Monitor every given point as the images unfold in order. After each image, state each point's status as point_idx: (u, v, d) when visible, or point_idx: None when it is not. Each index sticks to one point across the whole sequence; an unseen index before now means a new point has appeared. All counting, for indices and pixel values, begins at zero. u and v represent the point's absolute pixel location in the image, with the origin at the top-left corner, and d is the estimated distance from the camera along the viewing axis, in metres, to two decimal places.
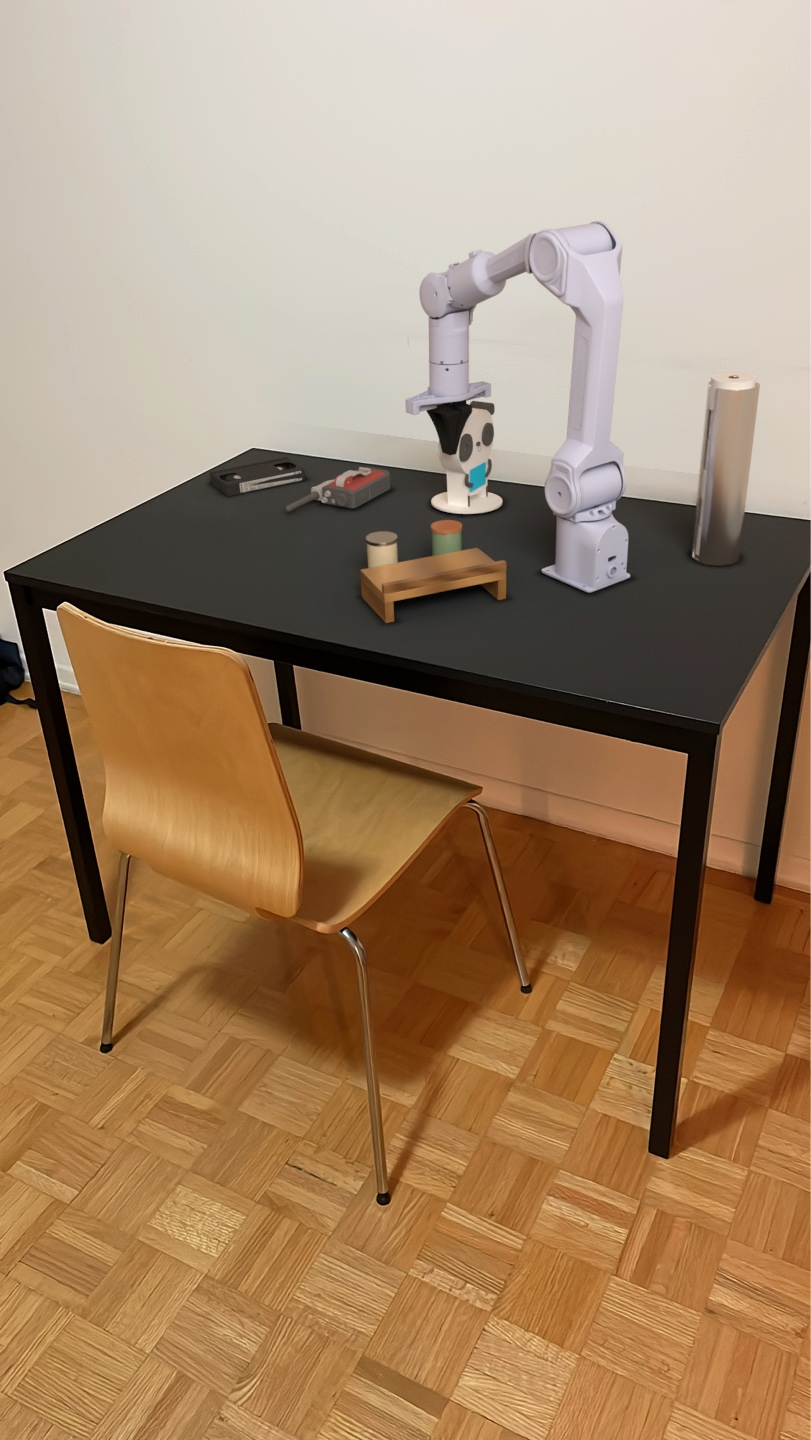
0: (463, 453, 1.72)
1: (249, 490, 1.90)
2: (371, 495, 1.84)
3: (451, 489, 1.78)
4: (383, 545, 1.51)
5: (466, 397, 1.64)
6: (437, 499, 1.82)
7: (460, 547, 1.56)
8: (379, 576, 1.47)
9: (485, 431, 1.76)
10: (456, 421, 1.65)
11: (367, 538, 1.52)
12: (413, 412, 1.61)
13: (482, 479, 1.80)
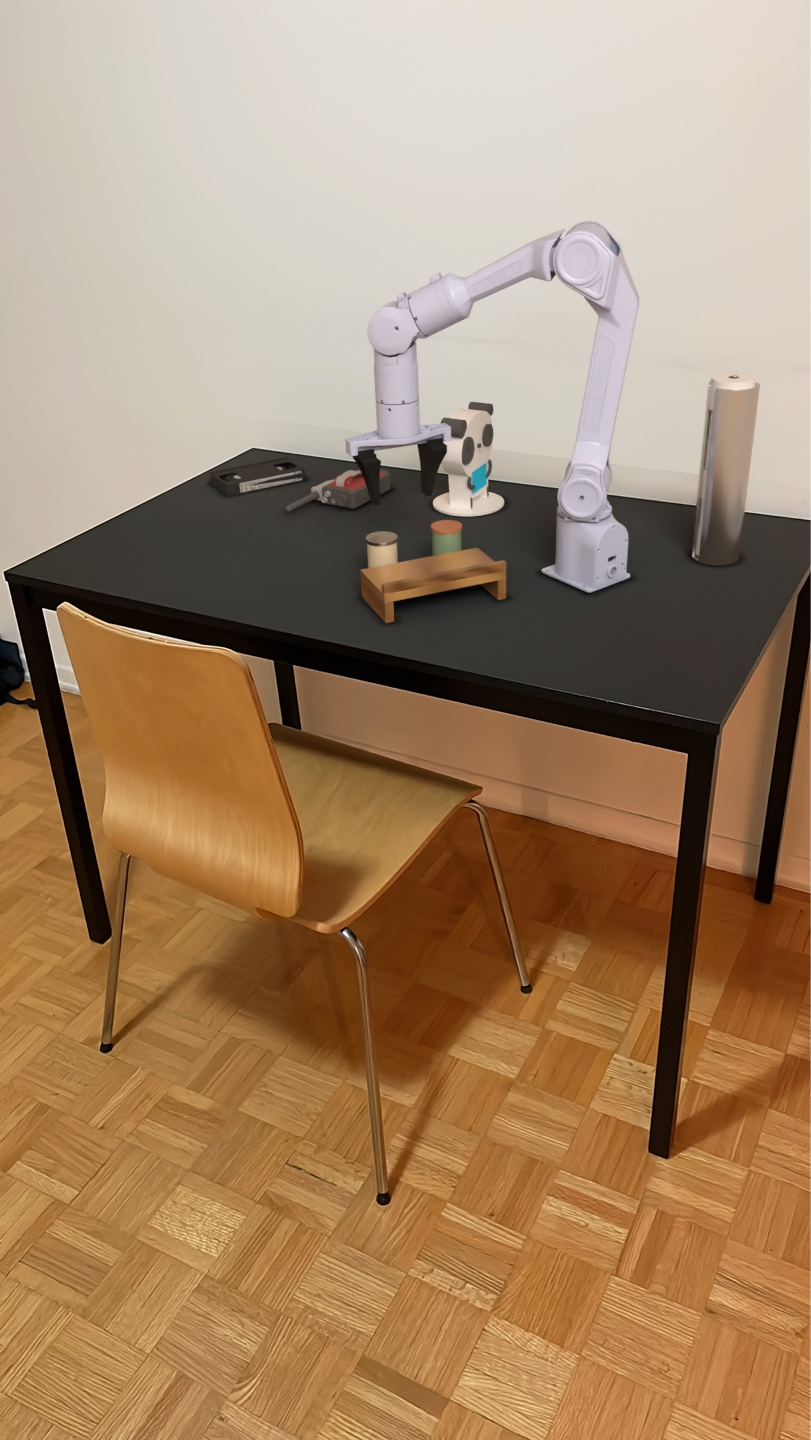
0: (466, 456, 1.72)
1: (249, 490, 1.90)
2: None
3: (453, 492, 1.78)
4: (383, 545, 1.51)
5: (413, 440, 1.50)
6: (438, 501, 1.81)
7: (460, 547, 1.56)
8: (379, 576, 1.47)
9: (485, 432, 1.76)
10: (378, 469, 1.50)
11: (367, 538, 1.52)
12: (350, 453, 1.49)
13: (483, 480, 1.79)
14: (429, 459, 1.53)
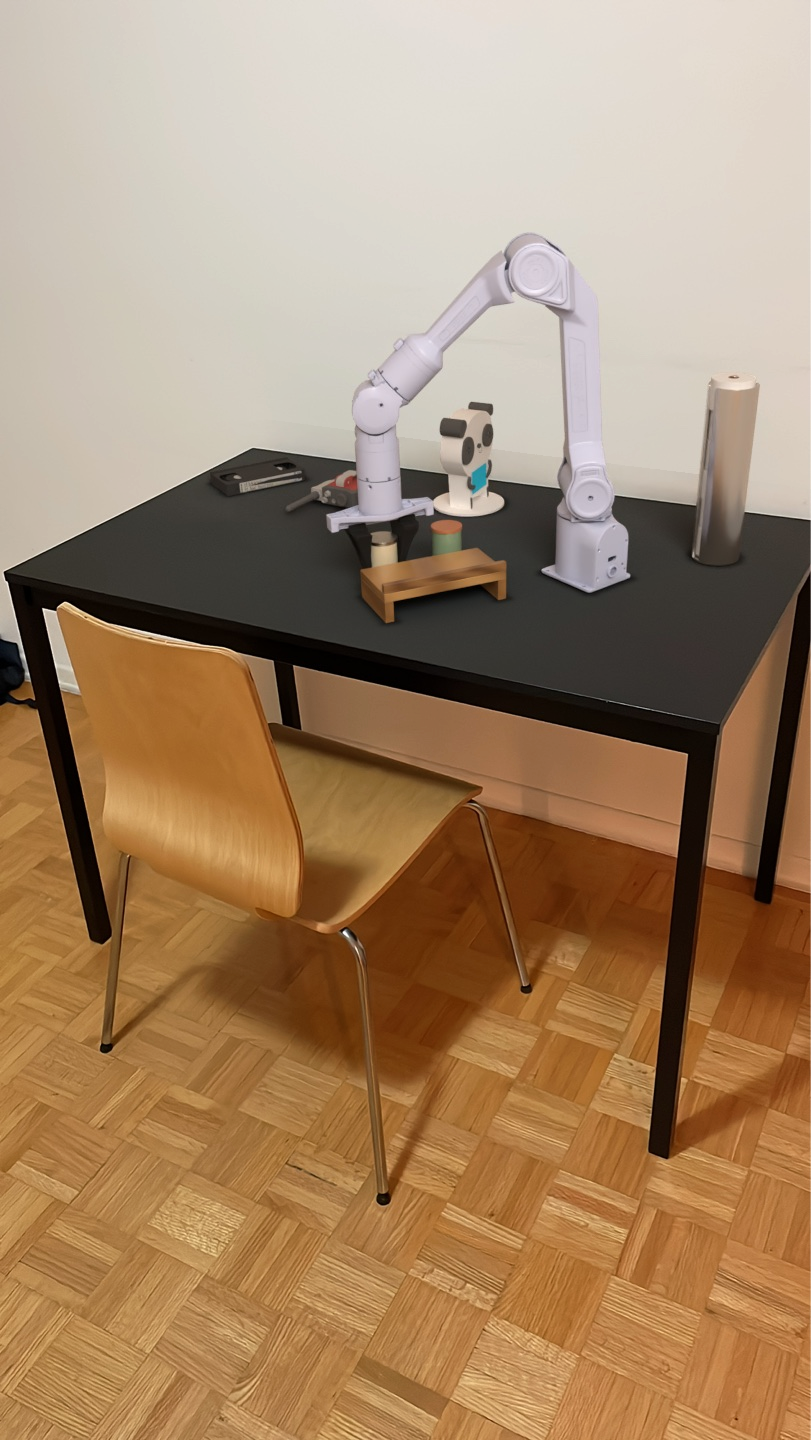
0: (465, 456, 1.72)
1: (249, 490, 1.90)
2: None
3: (453, 492, 1.78)
4: (383, 546, 1.51)
5: (394, 517, 1.48)
6: (438, 501, 1.81)
7: (460, 547, 1.56)
8: (379, 576, 1.47)
9: (485, 432, 1.76)
10: (369, 544, 1.50)
11: None
12: (331, 530, 1.48)
13: (483, 480, 1.79)
14: (401, 536, 1.52)
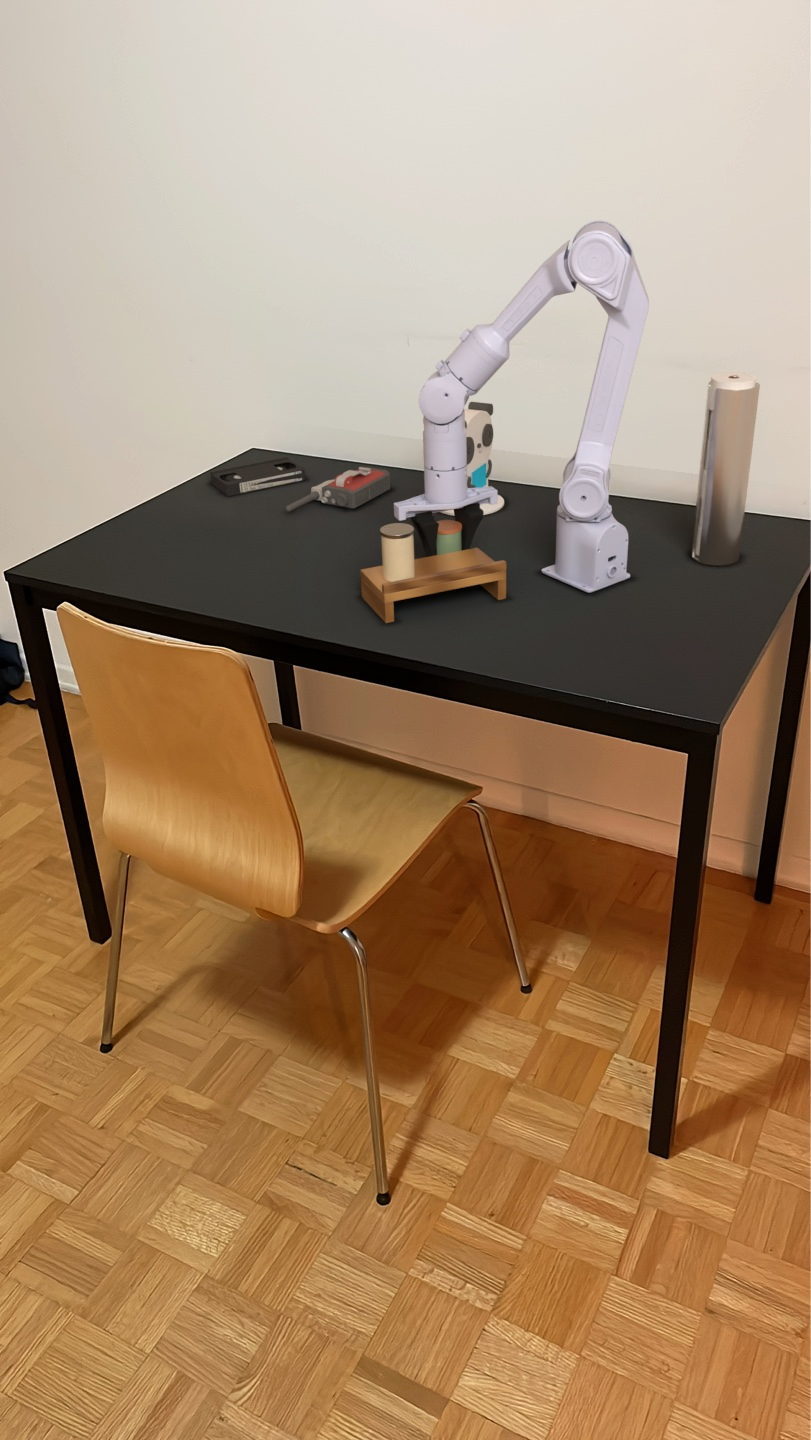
0: None
1: (249, 490, 1.90)
2: (371, 495, 1.84)
3: None
4: (399, 538, 1.42)
5: (460, 505, 1.51)
6: None
7: (460, 547, 1.56)
8: (379, 576, 1.47)
9: (485, 432, 1.76)
10: (436, 532, 1.53)
11: (382, 530, 1.43)
12: (399, 518, 1.51)
13: (483, 480, 1.79)
14: (465, 524, 1.55)
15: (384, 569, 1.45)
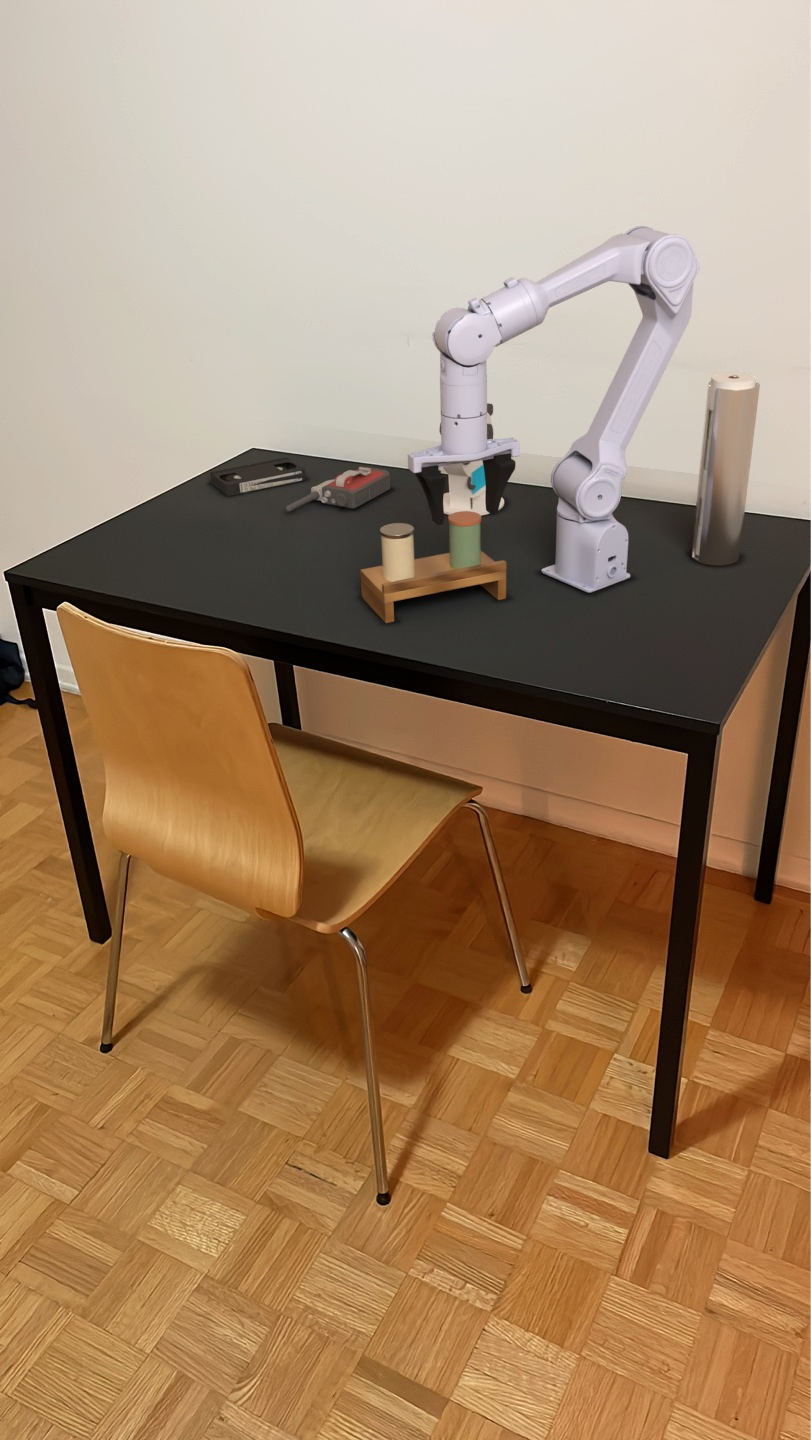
0: None
1: (249, 490, 1.90)
2: (371, 495, 1.84)
3: (453, 492, 1.78)
4: (399, 538, 1.42)
5: (480, 456, 1.40)
6: None
7: (479, 540, 1.47)
8: (379, 576, 1.47)
9: None
10: (442, 487, 1.41)
11: (382, 530, 1.43)
12: (413, 470, 1.40)
13: (483, 480, 1.79)
14: (496, 476, 1.44)
15: (384, 569, 1.45)
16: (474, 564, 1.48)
